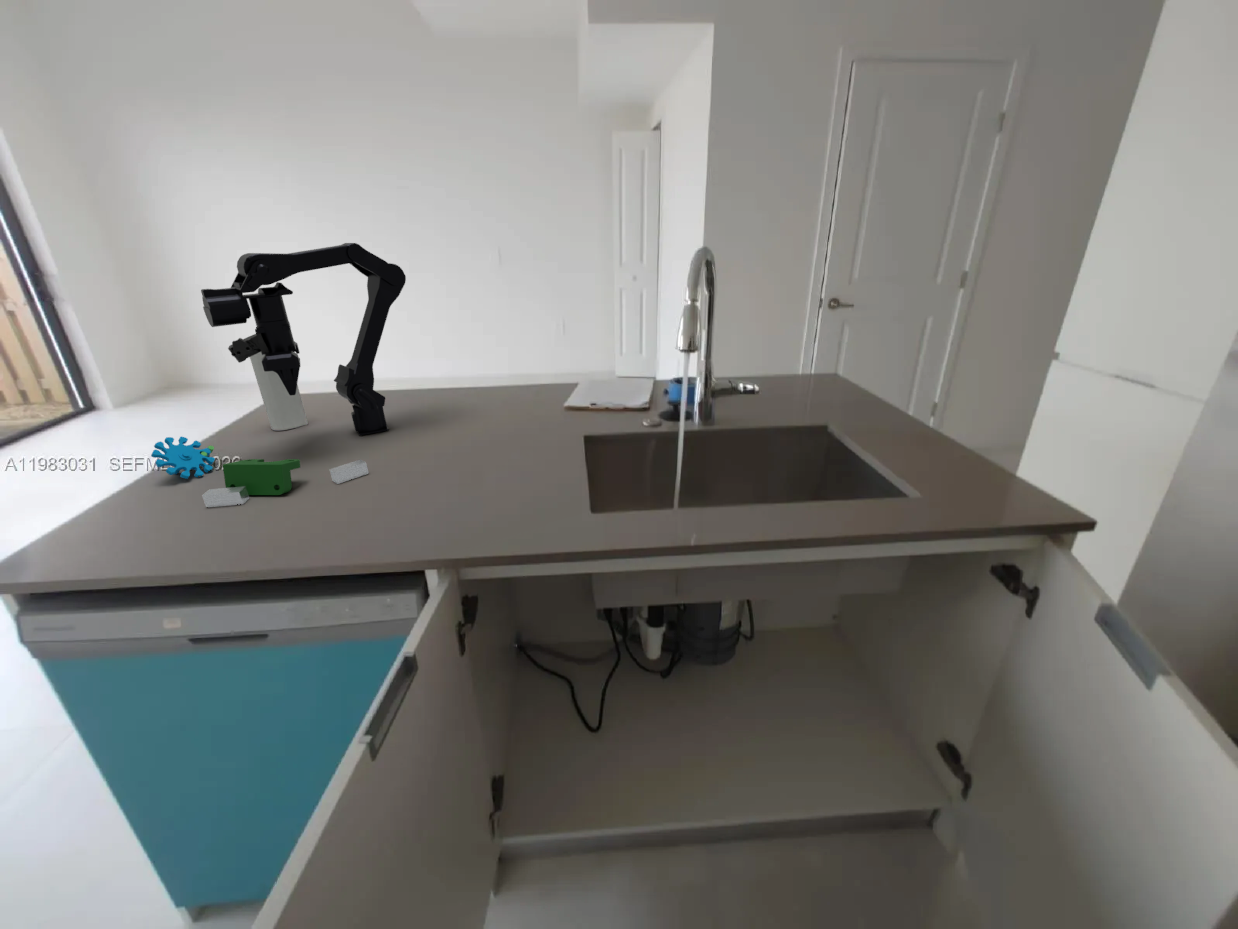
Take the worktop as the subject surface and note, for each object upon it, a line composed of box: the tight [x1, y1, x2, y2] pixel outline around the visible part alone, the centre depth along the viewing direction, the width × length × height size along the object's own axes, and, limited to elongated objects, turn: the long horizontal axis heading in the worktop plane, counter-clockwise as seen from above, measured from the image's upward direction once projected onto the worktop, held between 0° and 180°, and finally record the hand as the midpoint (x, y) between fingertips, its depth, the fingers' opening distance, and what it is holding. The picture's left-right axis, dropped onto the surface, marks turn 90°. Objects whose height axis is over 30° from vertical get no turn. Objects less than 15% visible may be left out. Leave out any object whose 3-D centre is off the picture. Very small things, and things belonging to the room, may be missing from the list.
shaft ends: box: [201, 459, 369, 508], centre depth 101 cm, size 26×4×2 cm, turn 119°
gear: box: [150, 436, 216, 480], centre depth 109 cm, size 11×6×10 cm
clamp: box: [222, 458, 301, 496], centre depth 101 cm, size 12×6×9 cm, turn 81°
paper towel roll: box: [249, 352, 309, 431], centre depth 130 cm, size 7×6×21 cm
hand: (292, 394), depth 116 cm, fingers closed
